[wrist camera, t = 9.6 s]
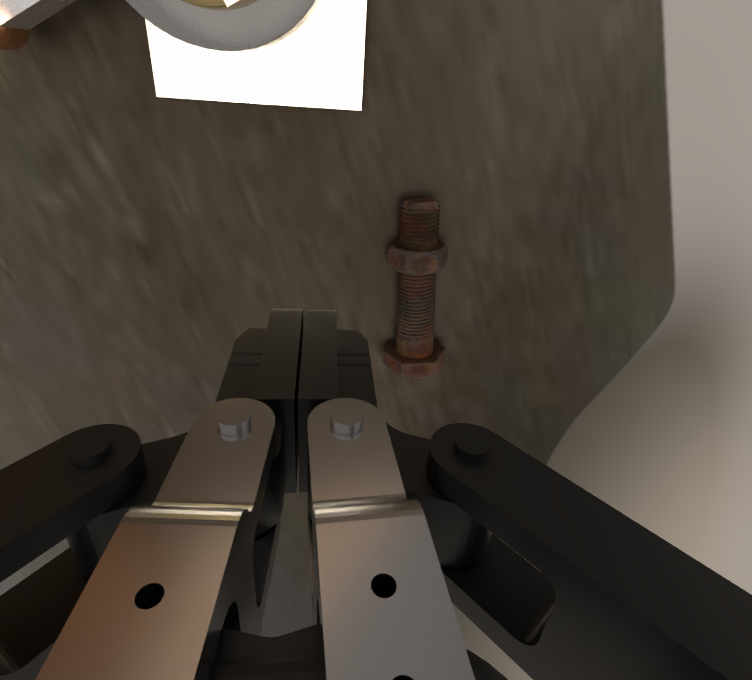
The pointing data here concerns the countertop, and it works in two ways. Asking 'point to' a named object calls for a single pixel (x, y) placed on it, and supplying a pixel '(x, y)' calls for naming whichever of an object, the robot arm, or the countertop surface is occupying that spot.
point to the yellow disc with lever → (36, 3)
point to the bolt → (416, 290)
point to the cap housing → (259, 52)
